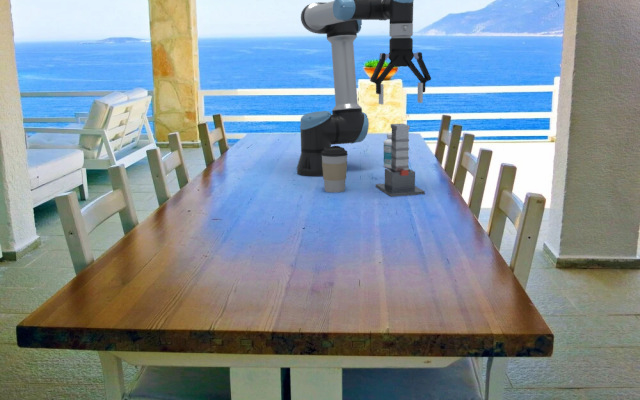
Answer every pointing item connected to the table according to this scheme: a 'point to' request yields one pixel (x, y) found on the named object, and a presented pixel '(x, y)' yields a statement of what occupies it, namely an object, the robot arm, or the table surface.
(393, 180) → the stand
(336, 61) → the robot arm
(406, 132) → the column
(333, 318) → the table surface
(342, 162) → the coffee cup
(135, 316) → the table surface
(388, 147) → the pill bottle
